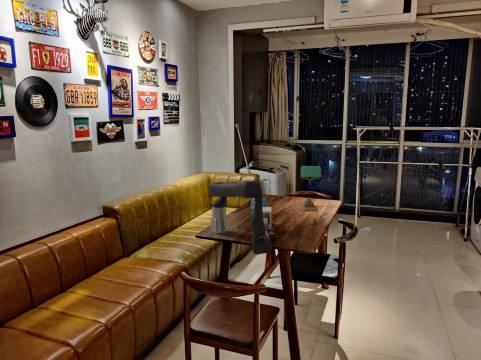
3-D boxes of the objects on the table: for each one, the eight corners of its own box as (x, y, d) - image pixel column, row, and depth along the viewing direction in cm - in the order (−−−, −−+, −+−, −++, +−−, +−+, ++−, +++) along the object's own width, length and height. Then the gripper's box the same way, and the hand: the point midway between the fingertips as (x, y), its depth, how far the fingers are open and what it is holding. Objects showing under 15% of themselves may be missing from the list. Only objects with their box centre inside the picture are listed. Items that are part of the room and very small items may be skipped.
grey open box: (255, 227, 245) (255, 218, 244) (256, 223, 254) (256, 215, 253) (271, 227, 244) (271, 219, 243) (271, 223, 253) (271, 215, 252)
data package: (250, 214, 277) (250, 199, 275) (252, 212, 282) (252, 198, 279) (265, 215, 274) (266, 200, 272) (267, 213, 279) (267, 198, 276)
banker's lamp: (318, 205, 302) (319, 164, 296) (321, 212, 282) (322, 168, 276) (299, 205, 304) (300, 164, 297) (301, 211, 283) (302, 168, 277)
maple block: (258, 240, 218) (258, 223, 216) (258, 234, 230) (258, 217, 228) (267, 240, 218) (267, 223, 216) (267, 234, 230) (267, 217, 228)
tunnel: (255, 232, 234) (255, 211, 232) (255, 227, 245) (255, 206, 242) (271, 232, 233) (271, 211, 231) (271, 227, 244) (271, 207, 241)
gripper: (275, 230, 204) (274, 222, 221) (250, 230, 205) (251, 221, 222) (274, 243, 205) (274, 233, 222) (250, 242, 206) (251, 233, 223)
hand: (262, 227), depth 222 cm, fingers closed on maple block, 5 cm apart
